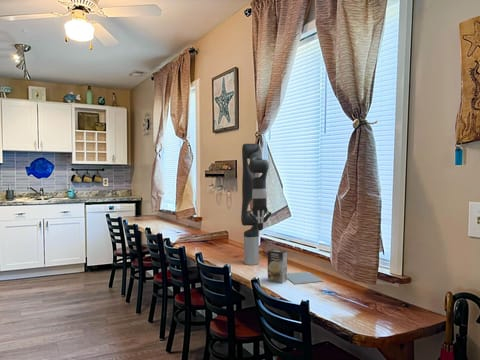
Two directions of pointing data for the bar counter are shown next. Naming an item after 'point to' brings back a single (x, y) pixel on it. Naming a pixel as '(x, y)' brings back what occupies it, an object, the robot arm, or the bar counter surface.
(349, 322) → the bar counter surface
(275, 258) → the coffee box
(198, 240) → the bar counter surface
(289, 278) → the mat
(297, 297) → the bar counter surface
